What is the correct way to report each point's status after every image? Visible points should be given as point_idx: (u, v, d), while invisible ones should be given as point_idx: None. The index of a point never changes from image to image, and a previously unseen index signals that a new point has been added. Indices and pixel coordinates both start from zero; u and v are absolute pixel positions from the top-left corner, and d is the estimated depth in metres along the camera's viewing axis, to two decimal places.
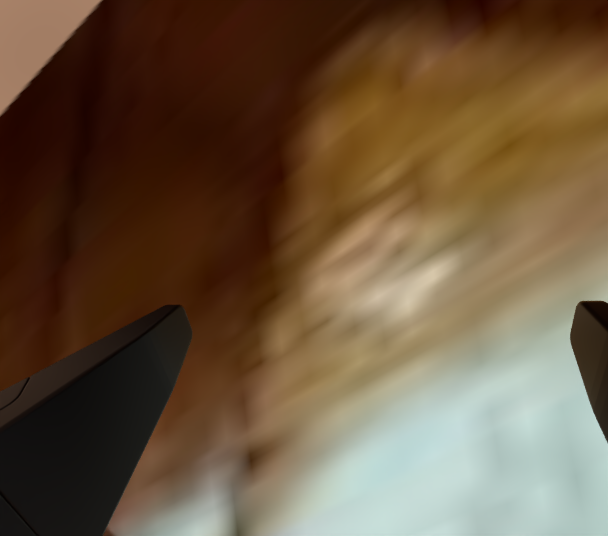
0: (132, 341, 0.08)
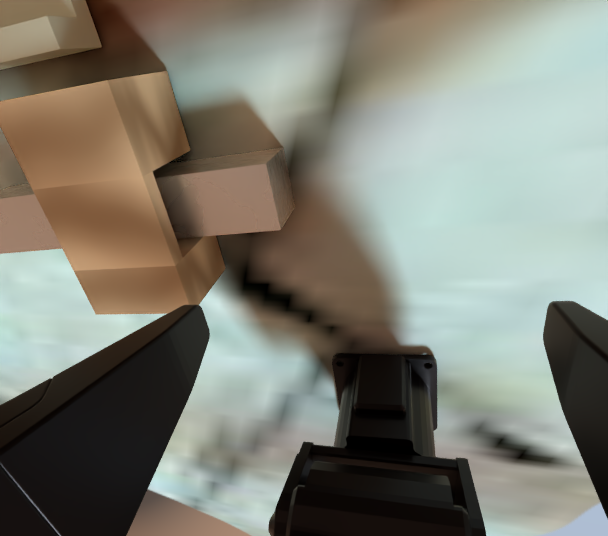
0: (153, 341, 0.08)
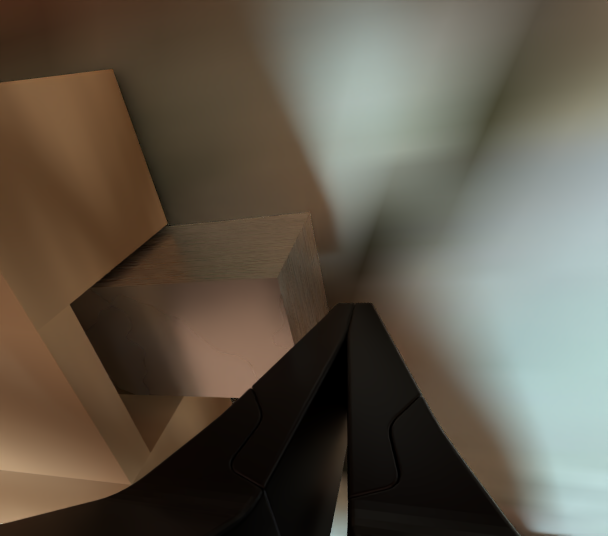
0: (340, 345, 0.07)
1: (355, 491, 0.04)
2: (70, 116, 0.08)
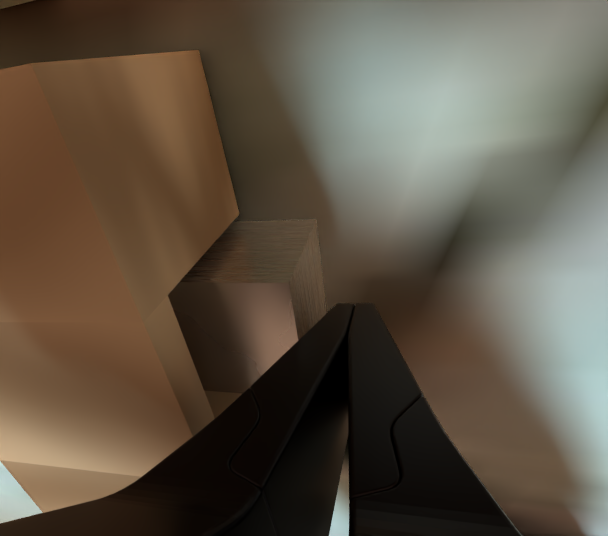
0: (339, 345, 0.07)
1: (356, 491, 0.04)
2: (167, 97, 0.07)
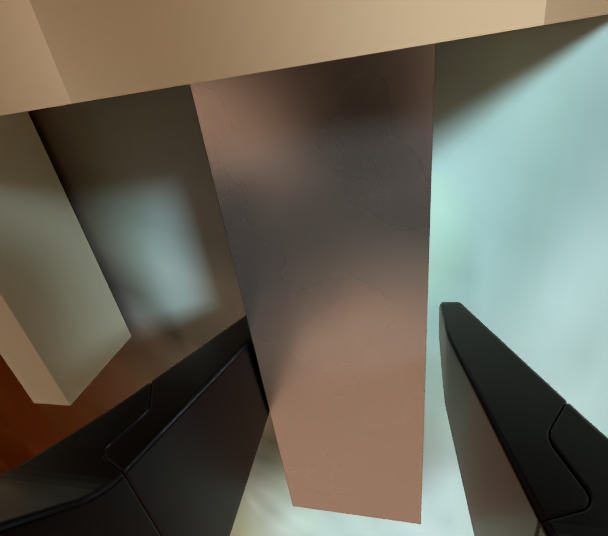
0: (247, 343, 0.08)
1: (547, 512, 0.04)
2: None
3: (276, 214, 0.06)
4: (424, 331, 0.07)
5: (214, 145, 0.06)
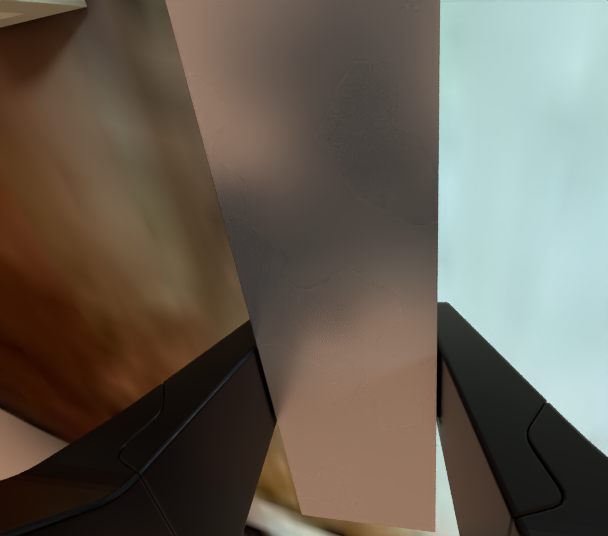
0: None
1: (520, 509, 0.04)
2: None
3: (277, 210, 0.06)
4: (434, 329, 0.06)
5: (212, 140, 0.06)
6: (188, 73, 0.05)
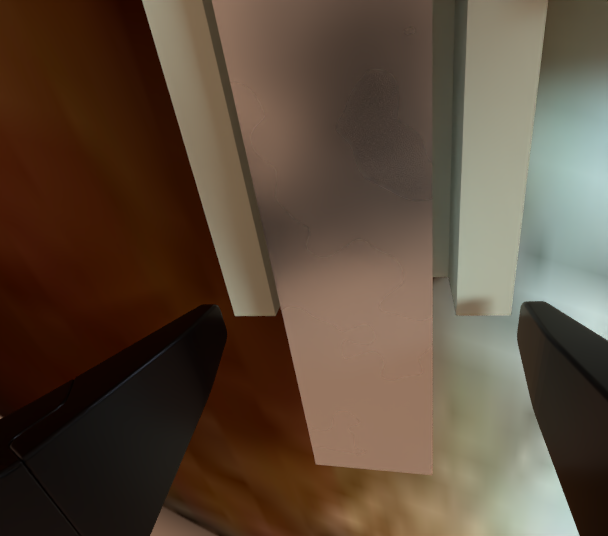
0: (174, 342, 0.08)
1: None
2: None
3: (301, 191, 0.07)
4: (430, 290, 0.08)
5: (249, 133, 0.07)
6: (232, 80, 0.07)
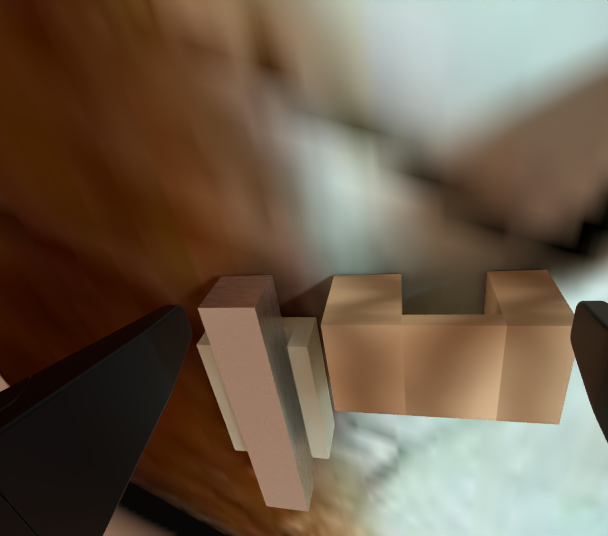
0: (132, 341, 0.08)
1: None
2: (342, 292, 0.21)
3: (254, 434, 0.25)
4: (294, 459, 0.26)
5: (239, 421, 0.25)
6: (234, 411, 0.24)
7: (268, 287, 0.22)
